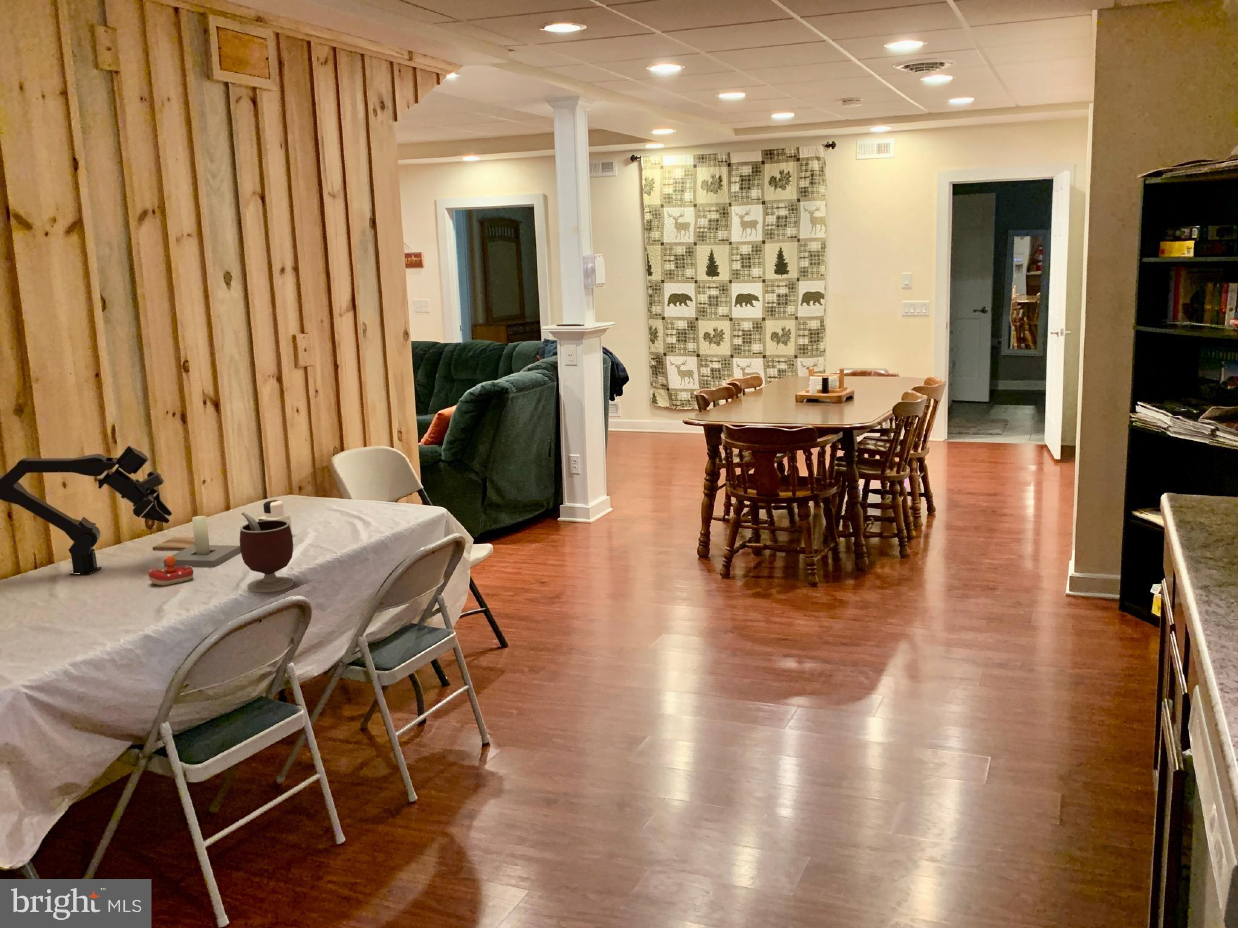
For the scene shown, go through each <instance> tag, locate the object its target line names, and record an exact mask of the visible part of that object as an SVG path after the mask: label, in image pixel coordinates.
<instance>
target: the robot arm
mask: <svg viewBox="0 0 1238 928" xmlns="http://www.w3.org/2000/svg"><path fill="white" fill-rule="evenodd" d="M149 459H150V458H149V457H148V456H147V455H146V454H145V453H143V452H142V451H141V450H138V449H137V448H135V447H132V446H131V445H128V446H126V448H125V449H124V451H123V452H122V454H120V456H118V457H107V456H106V455H104V454H101V453H93V454H88V455H87V454H86V455H83V456H79V457H72V458H71V457H70V458H69V457H68V458H67V457H65V458H63V457H61V458H59V457H51V458H50V457H49V458H48V457H47V458H43V457H40V458H38V457H37V458H31V457H23V458H21V459H20V460H19V461H18V462H16V464H15V465H14V466H13V467H12V468H11V469H9V471H8V472H7V473H5V474H0V501H2V502H5V503H10V504H13V505H17V506H19V507H21V508H23V509H25V510H26V511H28V512H30V513H31V514H33V515H35V516H36V517H38V518H40V519H42V520H44V521H45V522H47V523H49V524H51V525H53V526H54V527H56V528H57V529H59V530H61V531H63V532H64V533H65V534H66V535H67V536H68V538H69V539H70V540H71V541H72V542H73V543H72V544H71V545H70V547H69V549H68V552H69V553H70V555H71V557H70V558H71V564H72V571H73V573H80V574H89V573H91V572H93V571H95V572H97V571H99V570H101V569H103V568H102V566H98V563H97V556H96V551H95V548H94V546H95V545H96V544H97V543H98V542H99V540H100V538H101V531H100V528H99V527H98V526H97V523H96V522H92V521H90V520H89V519H88V518H86V517H85V516H83V517H82V518H81V519H76V518H72V516H69V515H68V514H66V513H64V512H62V511H60V510H59V509H57V508H56V507H54V506H52V504H49V503H47V502H46V501H43V500H42V499H40V498H39V497H37V496H36V495H33V494H32V493H30V492H28V490H27V488H25V487H24V485H23V484H22V483H20V481H21V479H22V478H23V477H24V476H26V475H27V474H30V473H31V474H33V473H35V474H38V473H39V474H40V473H42V474H43V473H45V474H46V473H49V474H50V473H55V474H56V473H72V474H73V473H75V474H78V475H83V476H88V477H95V478H96V477H99V478H97V479H96V481H97V484H98V485H97V486H98V487H97V488H98V489H99V490H100V489H102V488H103V486H105V485H106V486H107V487H109V488H110V489H112V490H113V491H114V492H115V493H117V494H118V495H120V498H121V499H123V500H124V499H125V500H127V501H128V502H129V503H131V504H132V507H133V509H132V513H133V515H134V516H135V517H137V519H139V518H141V519H146V520H152V521H155V522H160V523H165V524H168V523H169V522H170V519H169V518H168V517H171V516H172V515H173V512H172V511H171V510H170V508H169V507H168V506H167V505H166V504H165V503H164V502H163V500H162V499H161V491H159V489H160V488H158V487H159V486H161V485H163V484H164V482H165V481H164V479H163V477H162V475H161V474H160V473H159V472H157V471H156V472H155V471H153V470H150V471H149V472H147V474H146V478H144V479H142V480H139V478H138V479H134V478H132V477H131V475H132V474H134V475H136V474H137V473H138V472H139V471H140V470H141V469H142V468H143V466H145V464H146V463H148V462H149ZM116 466H117V467H116ZM115 467H116V468H115ZM114 468H115V469H114ZM113 469H114V470H113ZM111 470H113V471H111ZM106 471H107V472H106ZM105 472H106V473H105ZM103 474H104V475H103ZM129 475H130V476H129ZM101 476H103V477H101ZM156 493H157V494H156ZM100 568H101V569H100ZM98 569H99V570H98ZM96 570H97V571H96ZM72 571H70V572H72ZM93 573H94V572H93ZM91 574H92V573H91ZM89 575H90V574H89Z"/></svg>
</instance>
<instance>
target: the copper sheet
mask: <svg viewBox="0 0 1238 928" xmlns="http://www.w3.org/2000/svg"><path fill="white" fill-rule="evenodd" d="M192 545H195V541H194V536H193V537H191V536H190V537H189V536H172V537H171V538H169V539H167V540H164V541H163V542H161V543H158V544H157V545H154V546H152V551H164V550H166V551H168V550H169V551H171V552H172V551H176V552H180V551H182V550H184V549H186V548H188V547H190V546H192ZM166 551H165V552H166Z"/></svg>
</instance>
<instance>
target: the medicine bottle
mask: <svg viewBox="0 0 1238 928" xmlns="http://www.w3.org/2000/svg"><path fill="white" fill-rule="evenodd" d="M284 512H285V510H284V502H283V501H282V500H279V499H278V500H277V499H275V500H273V499H271V500H267V501H265V502H264V503H263V513H264V515H263V516H259V517H258V521H264V520H284V521H287V522H289V526H290V529H291V533H292V534H293V531H292V520H291V514H286V513H284Z"/></svg>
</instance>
